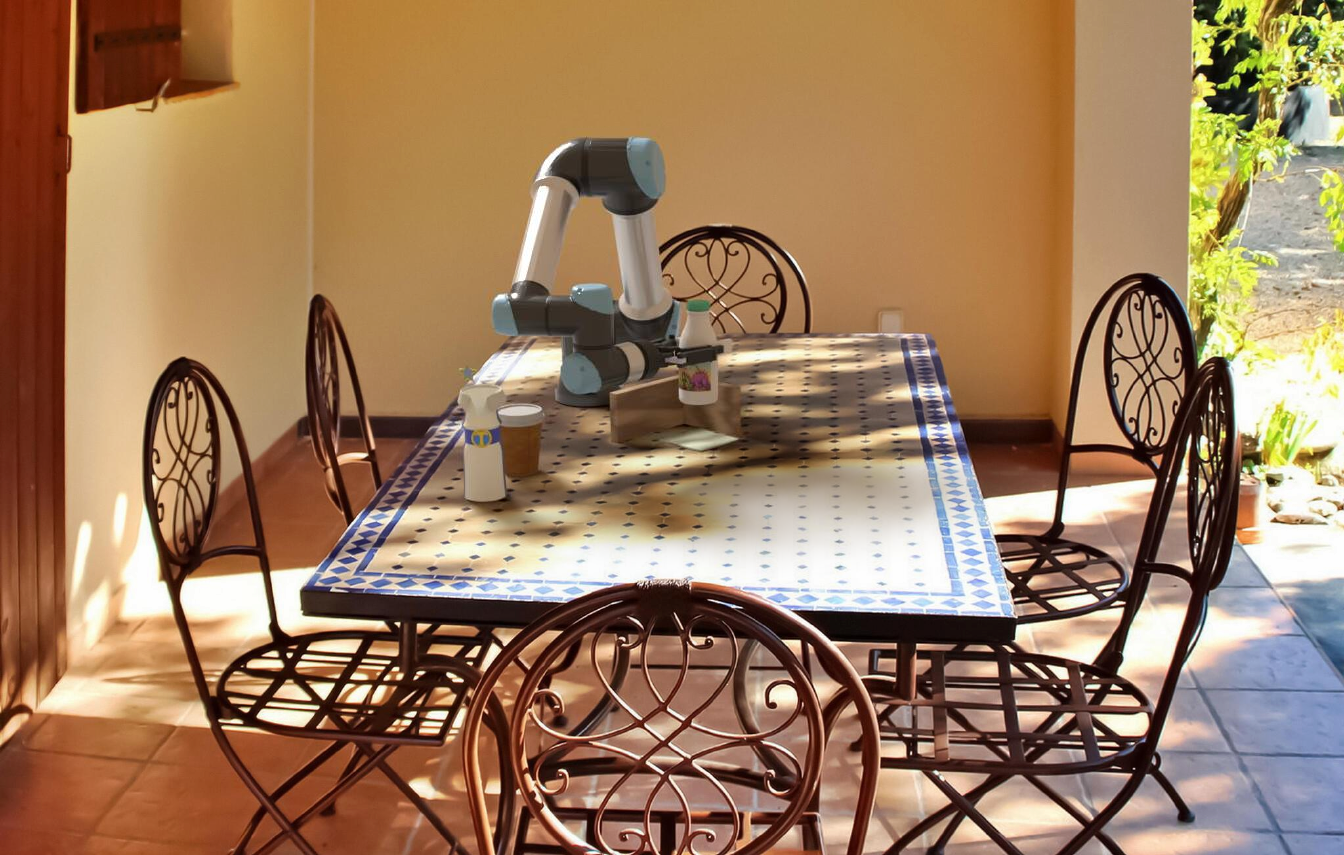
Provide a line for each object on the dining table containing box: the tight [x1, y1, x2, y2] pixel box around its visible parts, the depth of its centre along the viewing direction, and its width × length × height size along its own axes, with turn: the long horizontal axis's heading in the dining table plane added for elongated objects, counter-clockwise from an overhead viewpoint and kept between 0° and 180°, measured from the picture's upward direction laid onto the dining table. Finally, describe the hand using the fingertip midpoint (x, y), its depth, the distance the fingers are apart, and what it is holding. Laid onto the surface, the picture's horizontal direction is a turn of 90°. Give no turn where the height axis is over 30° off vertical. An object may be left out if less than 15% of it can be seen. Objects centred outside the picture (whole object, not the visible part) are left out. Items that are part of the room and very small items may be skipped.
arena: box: [609, 374, 742, 453], centre depth 287 cm, size 18×21×10 cm
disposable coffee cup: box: [498, 403, 545, 477], centre depth 267 cm, size 10×10×12 cm
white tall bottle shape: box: [457, 362, 508, 502], centre depth 253 cm, size 8×9×25 cm
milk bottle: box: [678, 299, 719, 405], centre depth 282 cm, size 8×8×20 cm
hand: (715, 342), depth 285 cm, fingers closed on milk bottle, 7 cm apart
